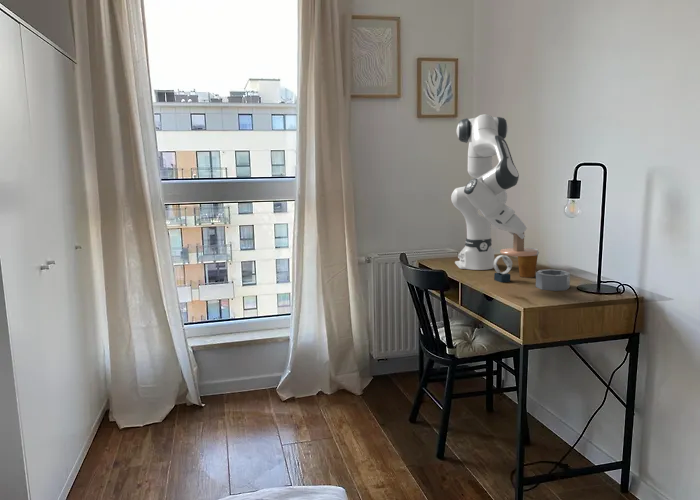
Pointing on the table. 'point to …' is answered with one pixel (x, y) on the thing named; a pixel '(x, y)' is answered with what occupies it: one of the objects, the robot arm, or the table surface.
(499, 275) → the watch
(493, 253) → the robot arm
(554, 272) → the bowl
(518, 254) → the lid
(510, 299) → the table surface
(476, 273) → the table surface
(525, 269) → the disposable coffee cup
